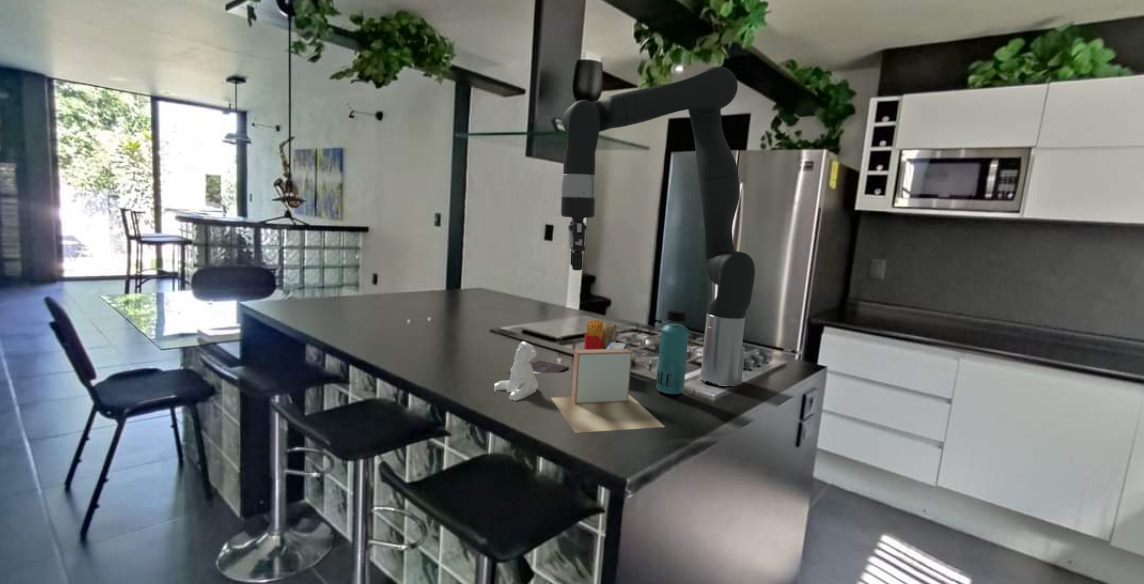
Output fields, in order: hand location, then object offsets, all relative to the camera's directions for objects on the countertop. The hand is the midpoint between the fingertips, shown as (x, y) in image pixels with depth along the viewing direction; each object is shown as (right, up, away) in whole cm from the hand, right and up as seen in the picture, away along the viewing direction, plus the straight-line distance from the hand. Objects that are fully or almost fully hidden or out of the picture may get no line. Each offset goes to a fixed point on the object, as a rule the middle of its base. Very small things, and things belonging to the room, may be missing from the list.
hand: (576, 267), depth 121 cm
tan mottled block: (+9, -24, +29) cm, 39 cm away
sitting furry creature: (-13, -28, -5) cm, 31 cm away
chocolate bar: (-10, -26, +11) cm, 30 cm away
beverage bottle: (+21, -30, +1) cm, 36 cm away
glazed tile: (+5, -29, -8) cm, 30 cm away
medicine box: (+9, -27, +9) cm, 30 cm away
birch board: (+6, -31, -13) cm, 34 cm away
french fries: (+5, -25, +21) cm, 33 cm away
